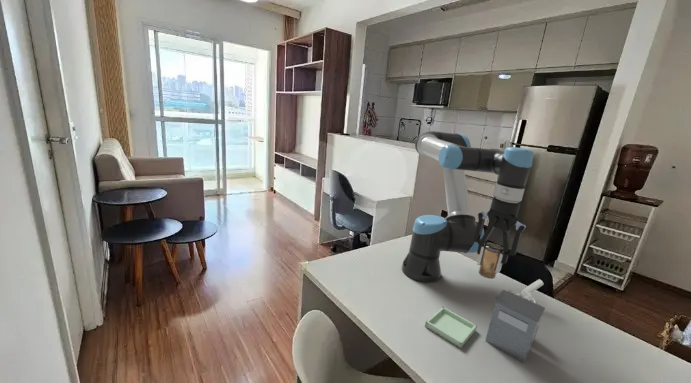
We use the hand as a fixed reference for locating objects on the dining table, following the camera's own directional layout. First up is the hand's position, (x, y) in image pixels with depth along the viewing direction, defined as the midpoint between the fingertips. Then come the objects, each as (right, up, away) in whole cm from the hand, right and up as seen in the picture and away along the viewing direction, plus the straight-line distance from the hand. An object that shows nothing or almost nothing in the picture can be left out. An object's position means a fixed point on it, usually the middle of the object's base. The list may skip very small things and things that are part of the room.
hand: (488, 267), depth 95 cm
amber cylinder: (0, -2, +1) cm, 3 cm away
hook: (+18, -16, +11) cm, 26 cm away
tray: (-15, -16, -7) cm, 23 cm away
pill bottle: (+7, -19, -7) cm, 22 cm away
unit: (0, -19, -11) cm, 22 cm away
